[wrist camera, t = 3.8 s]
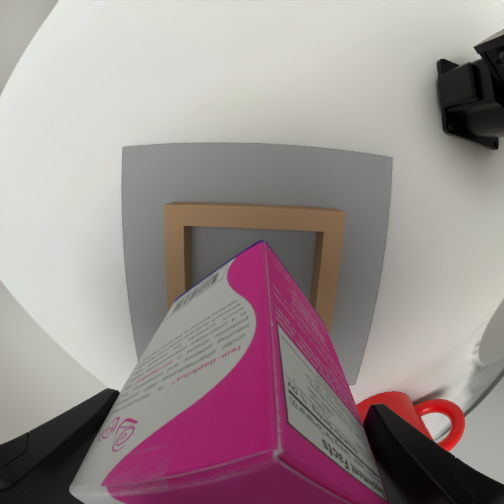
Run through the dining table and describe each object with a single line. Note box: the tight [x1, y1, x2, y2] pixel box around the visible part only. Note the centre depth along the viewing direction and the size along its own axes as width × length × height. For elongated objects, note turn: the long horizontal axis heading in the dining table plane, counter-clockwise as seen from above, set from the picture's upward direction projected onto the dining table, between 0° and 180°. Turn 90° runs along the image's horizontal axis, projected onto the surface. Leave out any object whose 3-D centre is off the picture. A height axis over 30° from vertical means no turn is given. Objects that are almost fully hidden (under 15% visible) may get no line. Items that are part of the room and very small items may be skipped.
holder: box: [122, 143, 393, 385], centre depth 18 cm, size 18×18×3 cm
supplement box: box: [69, 240, 389, 504], centre depth 9 cm, size 6×6×12 cm
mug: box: [356, 391, 465, 452], centre depth 19 cm, size 8×12×8 cm, turn 112°
